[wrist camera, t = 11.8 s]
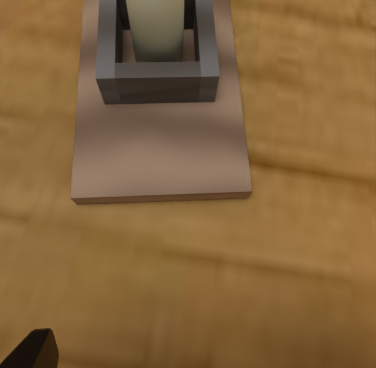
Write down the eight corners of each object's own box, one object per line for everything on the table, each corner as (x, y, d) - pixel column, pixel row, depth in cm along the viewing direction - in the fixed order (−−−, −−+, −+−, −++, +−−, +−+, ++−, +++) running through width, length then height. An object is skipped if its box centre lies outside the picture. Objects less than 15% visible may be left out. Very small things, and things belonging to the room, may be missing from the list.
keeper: (247, 197, 24) (263, 175, 20) (76, 204, 23) (55, 182, 19) (221, -29, 31) (229, -81, 27) (90, -29, 30) (77, -82, 26)
